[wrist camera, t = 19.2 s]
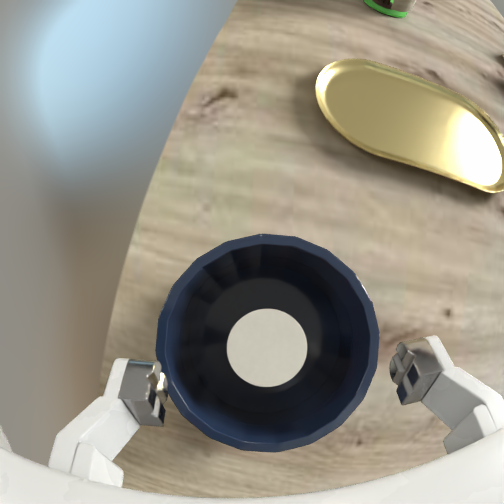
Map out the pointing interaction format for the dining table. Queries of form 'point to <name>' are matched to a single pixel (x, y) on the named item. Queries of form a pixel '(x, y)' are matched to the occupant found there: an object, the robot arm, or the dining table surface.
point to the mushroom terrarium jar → (392, 6)
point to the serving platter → (412, 122)
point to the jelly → (267, 347)
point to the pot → (279, 298)
